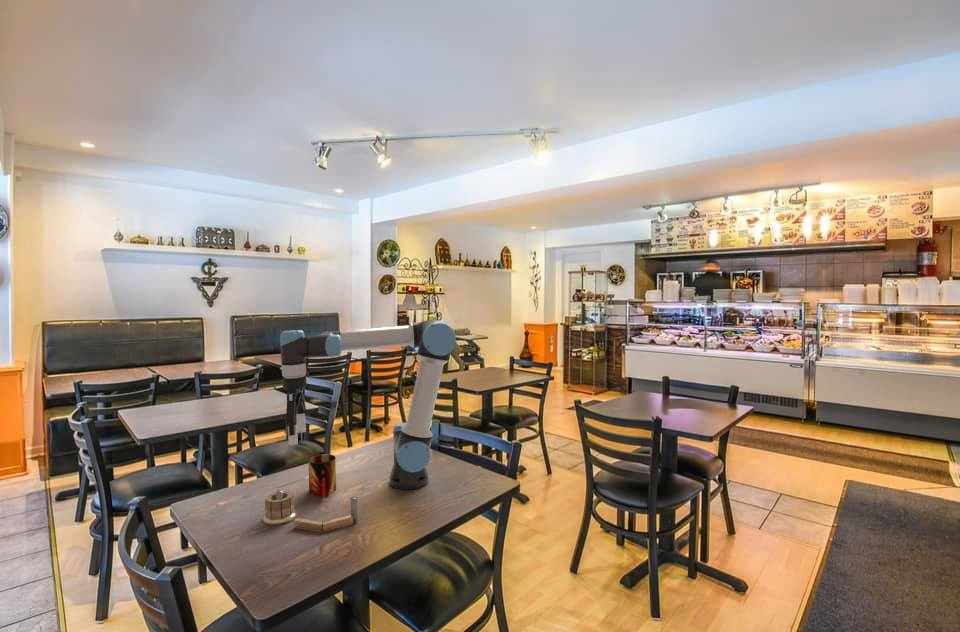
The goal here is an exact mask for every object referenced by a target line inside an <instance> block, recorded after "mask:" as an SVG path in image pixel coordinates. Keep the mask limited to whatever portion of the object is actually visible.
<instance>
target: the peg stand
mask: <svg viewBox="0 0 960 632" xmlns="http://www.w3.org/2000/svg"><path fill="white" fill-rule="evenodd" d="M283 491H284V490H282V489H277V490H276V491H275V492H276V500H281V499H283ZM293 510H294V511H293V513H292V515H290V516H289V517H287V518H285V519H281V520H269V519H267V518H266V513H264V515H263V518H262V520H263V524H265V525H268V526H281V525H285V524H288V523H290V522H292V521H294V520H295V519H296V518H297V510H296V508H294V507H293Z"/></svg>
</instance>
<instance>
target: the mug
mask: <svg viewBox="0 0 960 632" xmlns="http://www.w3.org/2000/svg"><path fill="white" fill-rule="evenodd" d="M336 461H337V460H336V456H335V455H334V454H324V453H323V454H318V455H314V456H311V457H310V458H308V492H309V495H312V496H317V497H320V496H322V499H326V496H327V495H331V494H332V493H334V492H336V490H337V462H336Z"/></svg>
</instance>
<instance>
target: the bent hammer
mask: <svg viewBox="0 0 960 632" xmlns="http://www.w3.org/2000/svg"><path fill="white" fill-rule="evenodd" d="M349 500H350V504H349V505H350V514H349V515H344V516H342V517H338V518H337V517H336V518H335V519H329V520H326V521H317V520H311V519H306V518H305V519H304V518H300V517H295V519H293V529H297V530H298V529H299V530H304V531H311V532H316V533H326V532H328V531H333V530H335V529H340V528H343V527H344V528H345V527H347V526H351V525H355V524H357V523H358V498H357V496H351V497H350V499H349Z"/></svg>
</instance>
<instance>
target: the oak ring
mask: <svg viewBox="0 0 960 632" xmlns="http://www.w3.org/2000/svg"><path fill="white" fill-rule="evenodd" d="M264 503H265V504H264V505H265V514H266V518H267V519H269V520H281V519H285V518H287V517H289V516H290V515H292V513H293V511H294V510H293V508H294V493H293V492H291V491H289V490H288V491H287V490H283V499H281V500H276V491H275V492H273V493H270V494H268V495H267V496H266V497H265V500H264Z"/></svg>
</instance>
